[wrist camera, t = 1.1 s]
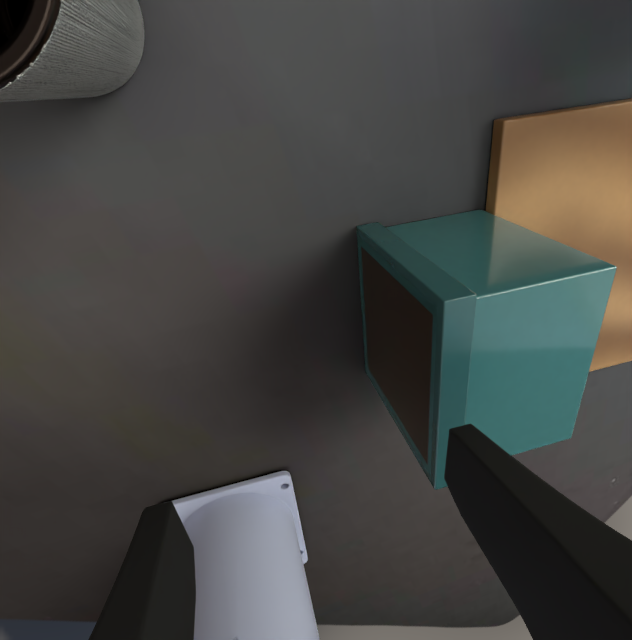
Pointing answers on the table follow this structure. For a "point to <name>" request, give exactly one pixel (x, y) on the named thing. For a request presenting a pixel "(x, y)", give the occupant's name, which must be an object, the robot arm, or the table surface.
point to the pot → (478, 330)
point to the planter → (68, 47)
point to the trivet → (574, 195)
